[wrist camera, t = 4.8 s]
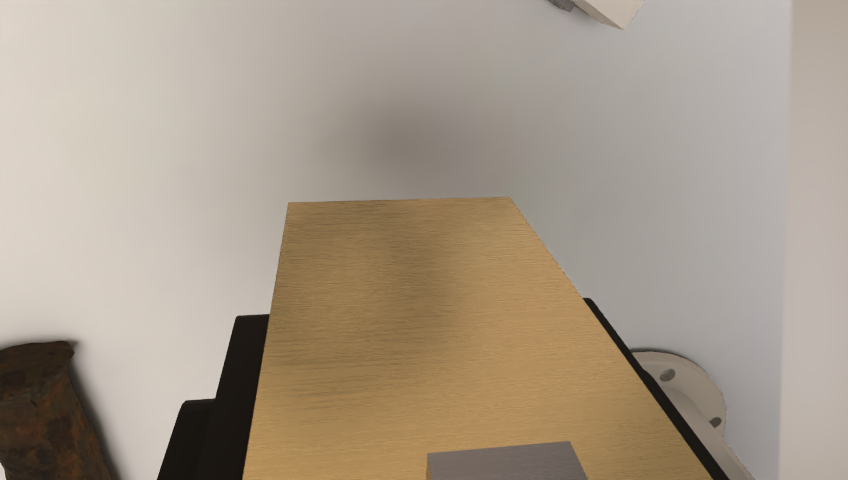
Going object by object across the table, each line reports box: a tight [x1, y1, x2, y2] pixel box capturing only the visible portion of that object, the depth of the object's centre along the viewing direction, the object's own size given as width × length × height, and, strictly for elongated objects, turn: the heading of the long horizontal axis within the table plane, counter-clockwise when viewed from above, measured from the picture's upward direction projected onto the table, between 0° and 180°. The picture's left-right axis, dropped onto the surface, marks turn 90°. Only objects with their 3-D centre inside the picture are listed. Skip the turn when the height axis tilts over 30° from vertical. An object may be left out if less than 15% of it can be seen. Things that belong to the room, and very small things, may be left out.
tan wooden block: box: [242, 197, 713, 480], centre depth 8 cm, size 4×6×9 cm
